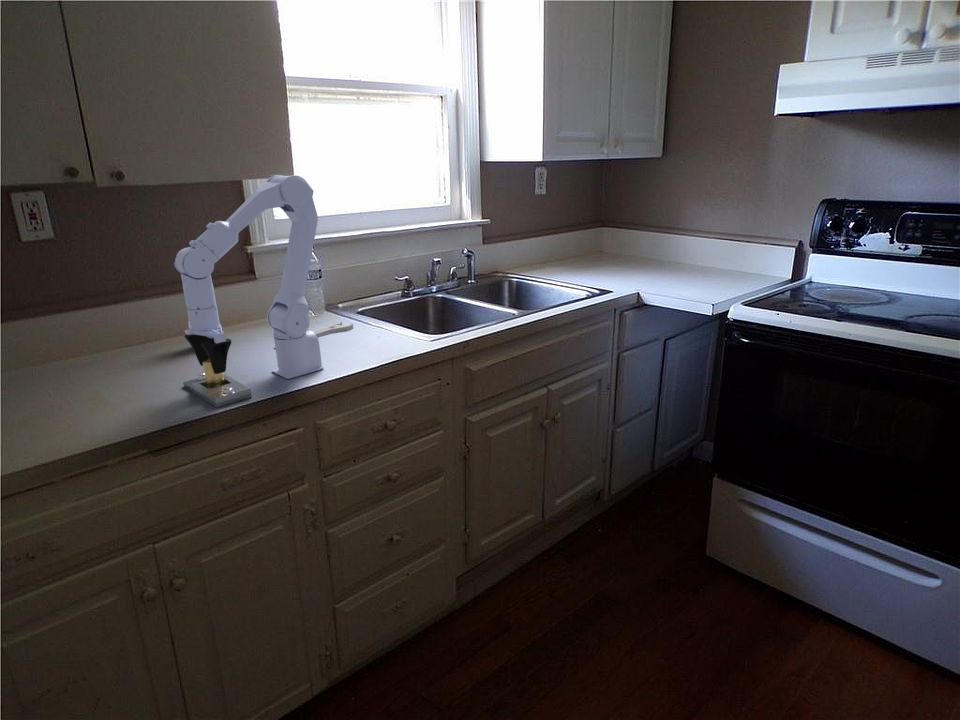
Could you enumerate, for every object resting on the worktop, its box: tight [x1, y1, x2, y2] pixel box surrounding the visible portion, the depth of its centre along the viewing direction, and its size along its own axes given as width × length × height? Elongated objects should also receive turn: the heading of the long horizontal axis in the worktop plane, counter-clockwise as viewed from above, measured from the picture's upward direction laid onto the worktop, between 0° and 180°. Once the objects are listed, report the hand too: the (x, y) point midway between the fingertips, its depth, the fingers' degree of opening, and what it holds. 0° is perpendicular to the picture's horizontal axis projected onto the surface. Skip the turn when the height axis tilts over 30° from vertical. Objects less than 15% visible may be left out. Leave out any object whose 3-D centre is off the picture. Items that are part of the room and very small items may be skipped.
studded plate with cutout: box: [182, 371, 252, 408], centre depth 135 cm, size 7×18×2 cm, turn 44°
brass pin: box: [202, 359, 225, 389], centre depth 134 cm, size 4×4×7 cm
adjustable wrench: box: [313, 321, 354, 338], centre depth 174 cm, size 25×6×2 cm, turn 138°
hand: (212, 368), depth 134 cm, fingers open, 7 cm apart
